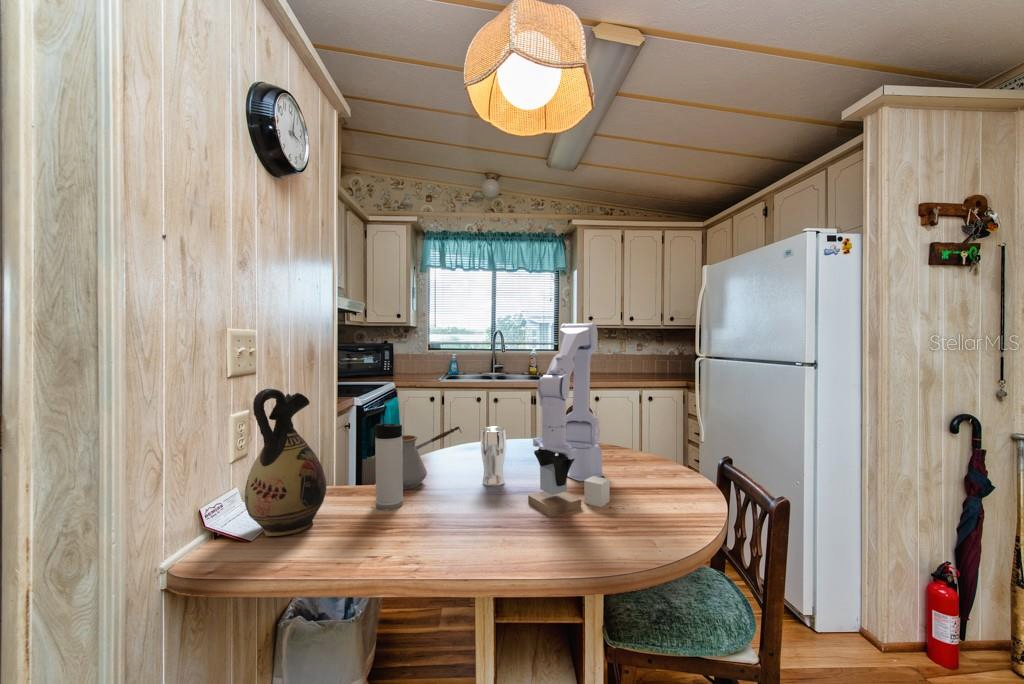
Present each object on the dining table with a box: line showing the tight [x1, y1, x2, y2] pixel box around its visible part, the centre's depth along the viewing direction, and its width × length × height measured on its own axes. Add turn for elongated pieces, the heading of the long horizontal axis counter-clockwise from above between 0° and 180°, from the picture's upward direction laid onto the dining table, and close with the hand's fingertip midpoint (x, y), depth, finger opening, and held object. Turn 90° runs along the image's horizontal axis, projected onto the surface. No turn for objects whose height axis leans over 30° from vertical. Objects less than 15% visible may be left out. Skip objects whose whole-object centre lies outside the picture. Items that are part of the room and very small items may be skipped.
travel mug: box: [374, 423, 404, 511], centre depth 104 cm, size 6×7×20 cm
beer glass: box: [480, 425, 507, 487], centre depth 119 cm, size 7×7×15 cm
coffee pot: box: [402, 426, 463, 490], centre depth 120 cm, size 21×12×15 cm, turn 107°
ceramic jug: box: [244, 388, 327, 537], centre depth 91 cm, size 17×15×30 cm
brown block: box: [527, 491, 582, 517], centre depth 103 cm, size 9×9×2 cm
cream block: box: [583, 476, 611, 508], centre depth 105 cm, size 4×4×6 cm
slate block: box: [539, 464, 568, 495], centre depth 103 cm, size 4×4×6 cm
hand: (554, 482), depth 103 cm, fingers closed on slate block, 4 cm apart
